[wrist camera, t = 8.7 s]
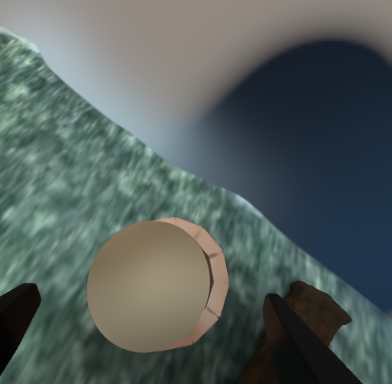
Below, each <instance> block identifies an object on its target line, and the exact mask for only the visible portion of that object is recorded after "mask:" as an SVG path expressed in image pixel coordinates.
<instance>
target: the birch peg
mask: <svg viewBox="0 0 392 384" xmlns="http://www.w3.org/2000/svg"><path fill="white" fill-rule="evenodd" d="M209 287H210V276H209V268H208V264H207V261H206V258H205V255H204V253H203V251H202V249H201V247H200V246H199V245H198V243H197V242H196V241H195V239H194V238H193V237H192V236H191V235H190V234H188V233H187V232H186V231H185V230H183V229H181V228H180V227H178V226H176V225H173V224H170V223H167V222H162V221H143V222H139V223H135V224H133V225H130V226H128V227H126V228H124V229H122V230H120V231H119V232H117V233H116V234H115V235H114V236H112V237H111V238H110V239H109V240H108V241H107V242H106V243H105V244H104V246H103V247H102V248H101V249H100V251H99V252H98V254H97V256H96V258H95V260H94V262H93V264H92V266H91V270H90V273H89V277H88V282H87V301H88V306H89V310H90V313H91V316H92V319H93V321H94V323H95V325H96V326H97V328H98V329H99V331H100V332H101V333H102V334H103V335H104V336H105V337H106V338H107V339H108V340H109V341H110V342H112V343H113V344H115V345H117V346H118V347H120V348H123V349H125V350H128V351H133V352H142V353H148V352H155V351H159V350H162V349H165V348H167V347H170V346H172V345H174V344H175V343H177V342H178V341H180V340H181V339H182V338H184V337H185V336H186V335H187V334H188V333H189V332H190V331H191V330H192V329H193V328H194V326H195V325H196V323H197V322H198V320H199V319H200V317H201V315H202V313H203V311H204V308H205V306H206V303H207V299H208V295H209Z"/></svg>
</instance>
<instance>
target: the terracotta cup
mask: <svg viewBox="0 0 392 384" xmlns="http://www.w3.org/2000/svg"><path fill="white" fill-rule="evenodd" d="M154 221H162V222H167V223H170V224H173V225H176V226H178V227H180V228H181V229H183V230H185V231H186V232H187V233H188V234H190V235H191V236H192V237H193V238H194V239H195V241H196V242H197V243H198V245H199V246H200V247H201V249H202V251H203V253H204V255H205V258H206V261H207V264H208V268H209V276H210V287H209V295H208V299H207V303H206V306H205V308H204V311H203V313H202V315H201V317H200V319H199V320H198V322H197V323H196V325H195V326H194V328H193V329H192V330H191V331H190V332H189V333H188V334H187V335H186V336H185V337H184V338H182V339H181V340H180V341H178V342H177V343H175V344H174V345H172V346H170V347H167V348H165V349H162V350H159V352H160V351H164V350H169V349H174V348H179V347H183V346H188V345H192V341H193V342H194V343H195V342H196V341H197V340H198V339H199V338H200V337H201V336H202V335H203V334H204V333H205V332H206V331H207V330H208V329H209V328H210V327H211V326H212V325H213V324H214V323H216V322H217V321H218V320H219V319H218V317H220V315H221V312H222V308H223V305H224V302H225V298H226V295H227V291H228V288H229V285H228V284H226V283H229V278H228V273H227V269H226V264H225V259H224V254H223V252H221V251H222V249H221V248H220V247H219V246H218V245H217V243H216V242H215V241H214V240H213V239H212V237H211V236H210V235H209V234H208V233H207V232H206V230H205V229H204V228H203V229H202V227H201V226H198V225H195V224H193V223H190V222H187V221H185V220H182V219H179V218H177V217H176V219H175V217H173V218H166V219H160V220H154ZM201 229H202V230H201ZM219 252H220V253H219ZM217 316H218V317H217Z"/></svg>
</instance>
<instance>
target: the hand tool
mask: <svg viewBox="0 0 392 384" xmlns="http://www.w3.org/2000/svg"><path fill="white" fill-rule="evenodd" d="M290 289H291V295H290V296H289V297H287V298H286V299H285V300H284V301H285V302H286V303H287V304H288V305H289V306H290V307H291V308H292V309H293V311H294V312H295V313H296V314H297V315H298V316H299V317H300V318H301V319H302V320H303V321H304V322H305V323H306V324H307V325H308V326H309V327H310V328H311V330H312V331H313V332H314V333H315V334H316V335H317V336H318V337H319V338H320V339H321V340H322V341H323V342H324V343H325V344H326V345H327V346H329V344H330V342H331V341H332V339H333V337H334V335H335V334H336V332H337V331H338V330H339V328H340V327H341V326H342V325H346V324H348V323H350V322H351V321H352V319H351V318H350V316H349V315H348V313H347V312H345V311H344V310H343V309H342V308H341V307H340V306H339V305H338V304H337V303H336V302H335V301H334V300H333V299H332V298H331V297H330V296H329V295H328V294H327V293H325V292H322V291H320V290H318V289H316V288H314V287H313V286H311V285H308V284H306V283H305V282H302V281H296V282H294V283H292V284H291V286H290ZM237 384H278V380H277V377H276V373H275V370H274V366H273V362H272V359H271V354H270V349H269V344H268V338H267V333H266V335H265V336H264V337H263V339H262V342H261V345H260V347H259V349H258V350H257V352H256V354H255V356H254V357H253V359H252V360H251V361H250V362H249V363H248V364H247V365H246V367H245V370H244V372H243V374H242V376H241V377H240V379H239V381H238V383H237Z"/></svg>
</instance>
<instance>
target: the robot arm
mask: <svg viewBox="0 0 392 384" xmlns="http://www.w3.org/2000/svg"><path fill="white" fill-rule="evenodd" d="M40 303H41V296H40V293H39V290H38V287H37V285H36V284H35V283H23V284H21V285H19V286H17V287H16V288H14V289H12V290H11V291H9V292H7V293H6V294H4V295H2V296H0V376H1V374H2V372H3V371H4V369H5V368H6V366H7V364H8V363H9V361H10V360H11V358H12V356H13V355H14V353H15V351H16V350H17V348H18V346H19V344H20V343H21V341H22V339H23V337H24V335H25V333H26V331H27V329H28V327H29V325H30V323H31V321H32V319H33V317H34V315H35V313H36V311H37V309H38V307H39V305H40ZM263 317H264V322H265V327H266V333H267V338H268V344H269V349H270V354H271V359H272V362H273V366H274V370H275V373H276V377H277V380H278V384H363V383H362V382H361V381H360V380H359V379H358V378H357V377H356V376H355V375H354V374H353V373H352V372H351V371H350V370H349V369H348V368H347V367H346V366H345V364H344V363H343V362H342V361H341V360H340V359H339V358H338V357H337V356H336V355H335V354H334V353H333V352H332V351H331V350H330V349H329V348H328V346H327V345H326V344H325V343H324V342H323V341H322V340H321V339H320V338H319V337H318V336H317V335H316V334H315V333H314V332H313V331H312V330H311V328H310V327H309V326H308V325H307V324H306V323H305V322H304V321H303V320H302V319H301V318H300V317H299V316H298V315H297V314H296V313H295V312H294V311H293V309H292V308H291V307H290V306H289V305H288V304H287V303H286V302H285V301H284V300H283V299H282V298H281V297H280V296H279V295H278V294H275V293H267V294H266V297H265V301H264V305H263Z"/></svg>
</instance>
